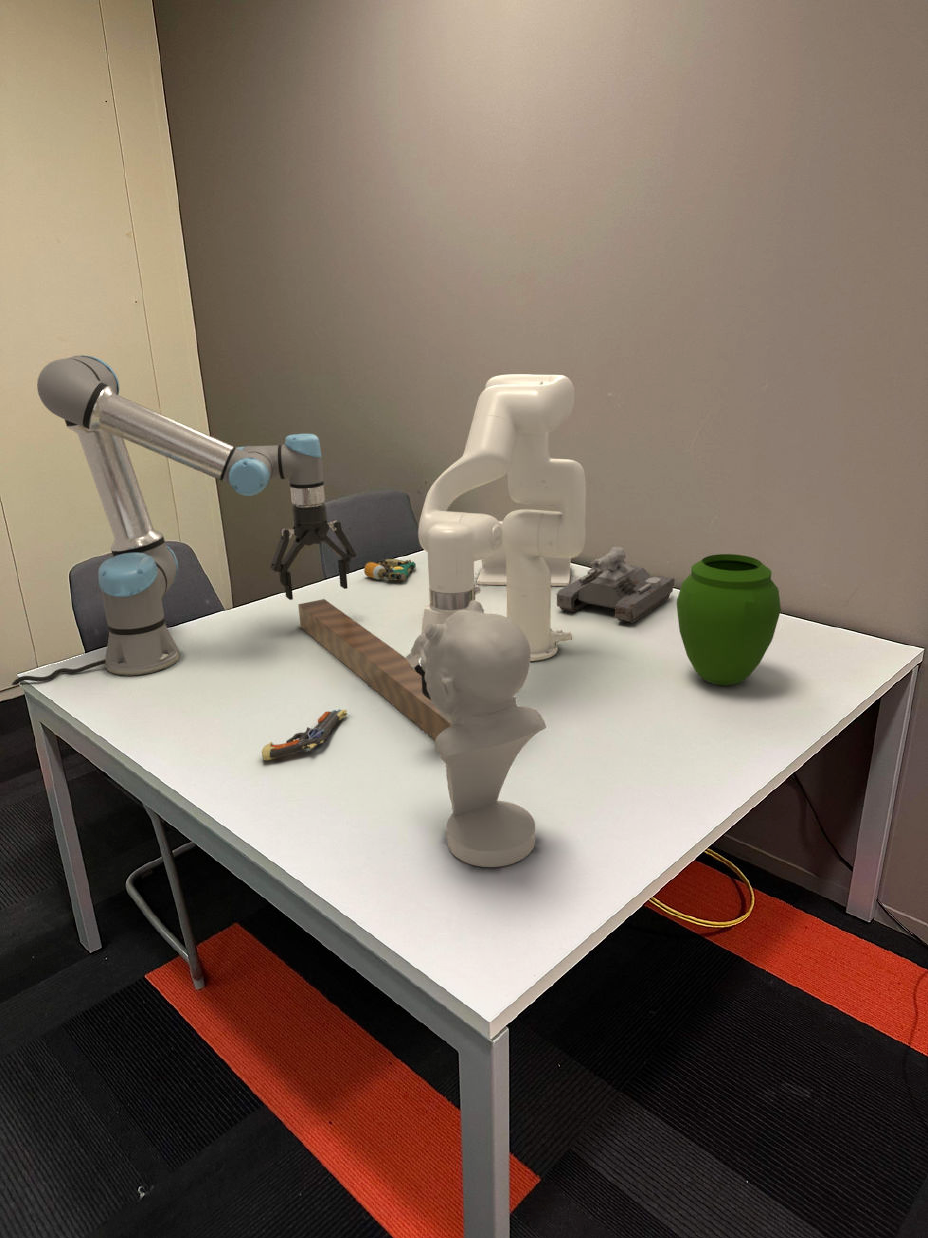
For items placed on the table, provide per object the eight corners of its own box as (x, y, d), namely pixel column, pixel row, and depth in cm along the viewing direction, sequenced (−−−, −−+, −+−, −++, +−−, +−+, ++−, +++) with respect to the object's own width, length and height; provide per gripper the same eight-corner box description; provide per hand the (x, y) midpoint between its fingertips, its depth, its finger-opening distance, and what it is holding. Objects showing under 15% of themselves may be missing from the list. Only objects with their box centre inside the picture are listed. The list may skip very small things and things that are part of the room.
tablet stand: (569, 585, 229) (570, 524, 223) (476, 584, 232) (475, 523, 226) (570, 566, 246) (571, 508, 240) (484, 564, 249) (483, 507, 243)
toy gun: (256, 750, 145) (311, 748, 142) (297, 707, 162) (347, 704, 160) (259, 765, 145) (314, 762, 143) (300, 720, 163) (349, 718, 161)
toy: (603, 584, 229) (605, 530, 224) (673, 597, 218) (677, 540, 213) (555, 612, 210) (556, 553, 205) (630, 627, 199) (633, 566, 194)
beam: (486, 746, 149) (485, 715, 147) (453, 756, 146) (452, 725, 144) (326, 621, 209) (324, 598, 207) (300, 627, 206) (298, 604, 204)
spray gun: (384, 565, 253) (429, 572, 247) (354, 578, 239) (401, 586, 233) (384, 551, 252) (430, 558, 246) (354, 564, 237) (402, 571, 232)
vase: (783, 670, 175) (796, 555, 166) (758, 707, 159) (770, 583, 151) (690, 652, 185) (697, 543, 176) (657, 685, 169) (664, 568, 161)
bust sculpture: (481, 772, 140) (476, 569, 128) (565, 848, 120) (569, 617, 108) (392, 800, 134) (378, 588, 121) (465, 886, 114) (457, 642, 101)
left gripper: (352, 493, 202) (359, 579, 210) (249, 508, 190) (260, 598, 198) (366, 499, 196) (372, 586, 203) (260, 515, 184) (271, 607, 192)
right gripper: (484, 583, 149) (485, 673, 154) (395, 600, 140) (400, 695, 146) (508, 594, 143) (508, 687, 148) (416, 613, 134) (420, 711, 140)
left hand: (317, 592), depth 201 cm, fingers open, 13 cm apart
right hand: (454, 691), depth 147 cm, fingers open, 9 cm apart
